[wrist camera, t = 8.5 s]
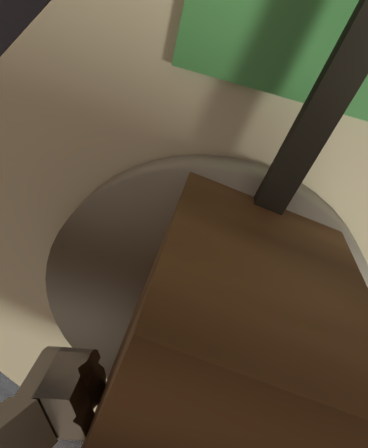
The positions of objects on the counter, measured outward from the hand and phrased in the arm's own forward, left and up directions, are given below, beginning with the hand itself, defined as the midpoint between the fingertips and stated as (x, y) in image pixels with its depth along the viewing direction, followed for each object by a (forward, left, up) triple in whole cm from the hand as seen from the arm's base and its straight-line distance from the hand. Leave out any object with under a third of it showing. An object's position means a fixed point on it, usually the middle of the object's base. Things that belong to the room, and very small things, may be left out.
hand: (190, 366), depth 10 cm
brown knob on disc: (+2, +2, -2) cm, 4 cm away
